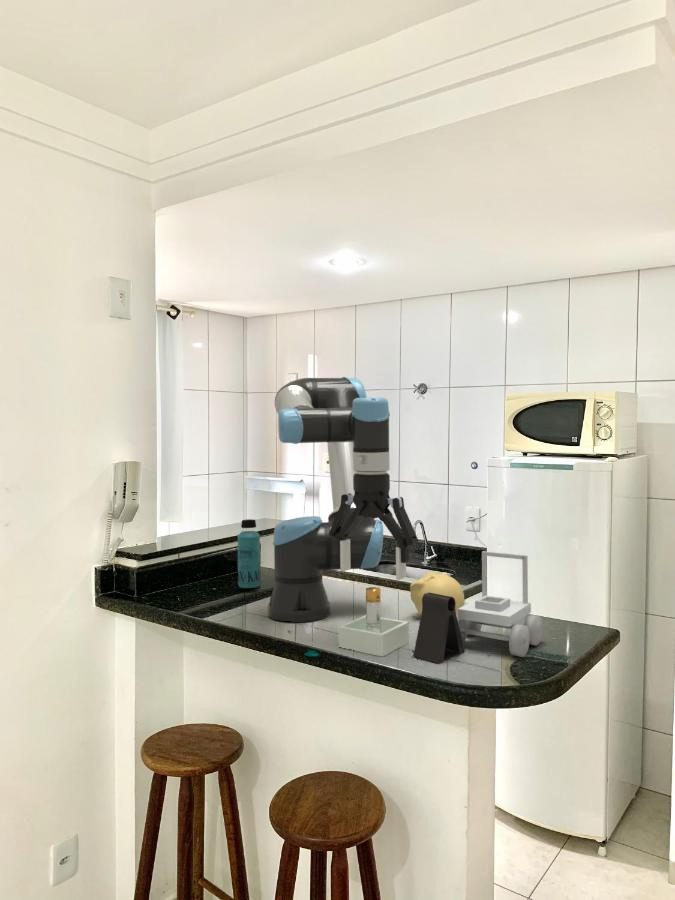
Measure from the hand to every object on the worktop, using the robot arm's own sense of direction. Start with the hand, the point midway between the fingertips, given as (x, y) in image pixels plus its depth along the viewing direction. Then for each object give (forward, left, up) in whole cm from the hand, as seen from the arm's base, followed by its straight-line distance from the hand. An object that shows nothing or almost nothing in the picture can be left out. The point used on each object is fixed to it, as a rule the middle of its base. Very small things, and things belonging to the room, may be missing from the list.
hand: (372, 574), depth 145 cm
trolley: (+21, +13, -15) cm, 29 cm away
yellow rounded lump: (+2, +25, -15) cm, 29 cm away
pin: (0, 0, -14) cm, 14 cm away
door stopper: (+15, +1, -15) cm, 21 cm away
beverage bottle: (-55, +22, -15) cm, 61 cm away
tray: (0, 0, -15) cm, 15 cm away
